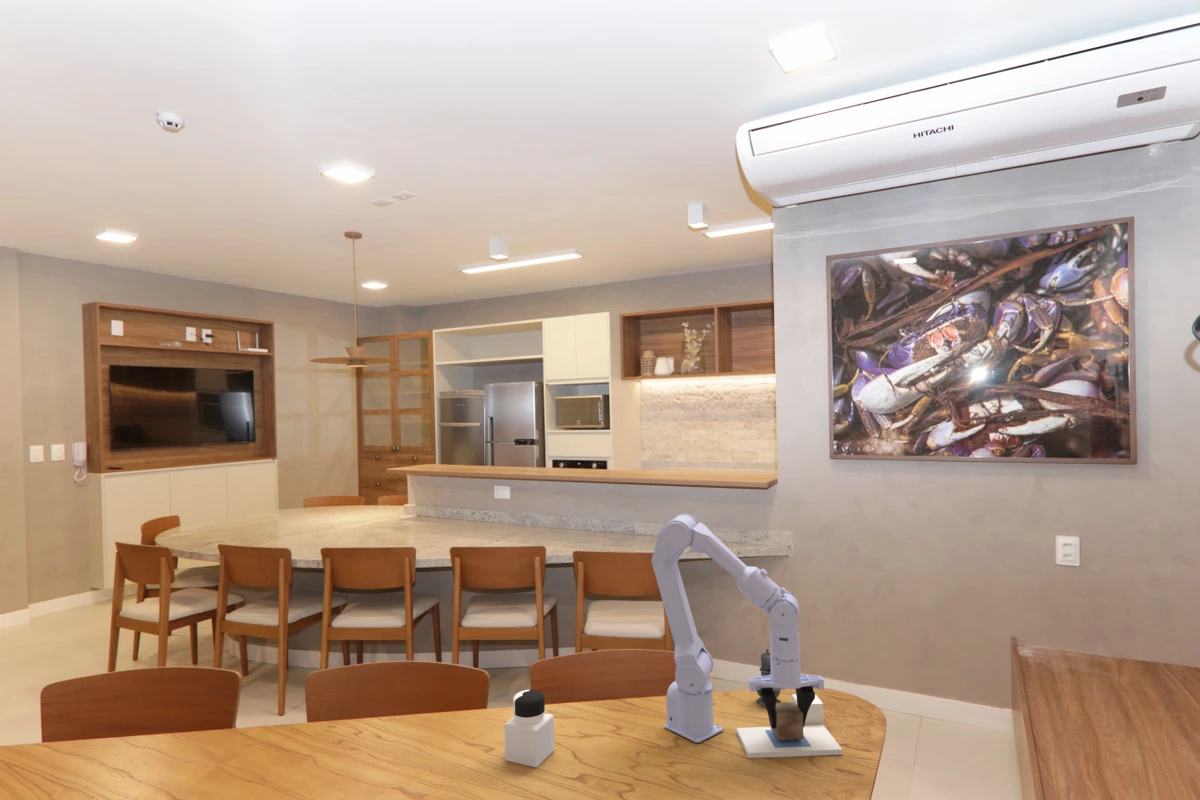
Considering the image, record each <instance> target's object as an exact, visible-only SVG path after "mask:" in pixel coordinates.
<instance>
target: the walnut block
mask: <svg viewBox="0 0 1200 800" xmlns="http://www.w3.org/2000/svg"><path fill="white" fill-rule="evenodd" d="M770 727H771V726H770ZM771 729H772V731H773V733H774V734H775V736H776V738H777V739H778V740H791V739H803V713H802V711H801V710H800V709H799V707H798V706H797V705H796V703H795V702H792V701H791V702H789V701H788V702H787V701H786V702H783V701H782V702H781V703H776V728H772V727H771Z"/></svg>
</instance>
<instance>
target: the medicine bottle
mask: <svg viewBox="0 0 1200 800" xmlns="http://www.w3.org/2000/svg"><path fill="white" fill-rule="evenodd" d="M512 700H513V703H512V706H513V708H512V709H513V710H512V711H513V712H512V713H513V716H512V717H511V719H509V720H508V721H506V723H504V760H505V761H506V762H510V763H514V764H519V765H523V766H526V767H527V766H528V767H532V768H535V769H536V768H538V767H539V766H540V765H541V764H542V763H543V762H544V761H545V760H546V759H547V758H548V757H550V755H551V754H552V753H553V752H554V751H555V719H554V718H555V717H554V714H551V713H547V712H546V709H545V705H546V704H545V703H546V702H545V695H544V694H543V692H542V691H540V690H536V689H525V690H524V689H523V690H521V691H519V692H517V693H516V694H515V695H514V696H513V697H512ZM545 712H546V713H545Z"/></svg>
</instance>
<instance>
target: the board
mask: <svg viewBox="0 0 1200 800" xmlns="http://www.w3.org/2000/svg"><path fill="white" fill-rule="evenodd" d="M735 730H736V735H737V737H738V740H739V741H740V743H741V745H742V747H743V750H744V752H745V753H746V756H747V757H748V759H763V758H785V757H787V758H789V757H811V756H812V757H815V756H816V757H817V756H839V755H841V756H842V755H843V748H842V747H841V746H840V745H839V743H838V742H837V740H836V739H835V738H834V736H833V735H832V734H831V733H830V731H829V730H828V729H827V728H826V726H825V724H824V725H806V726H804V727H803V739H791V740H778V739H777V738H776V736H775V734H774V733H773V731H772V729H771V726H757V727H754V726H753V727H752V726H751V727H736V729H735Z"/></svg>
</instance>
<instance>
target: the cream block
mask: <svg viewBox="0 0 1200 800" xmlns="http://www.w3.org/2000/svg"><path fill="white" fill-rule="evenodd" d="M791 702H795V703H796V705H797V696H796V693H795V694H793V693H792V694H791ZM824 706H825V705H824V703H823V702H822V700H821V699H820V698H819V697H818V695H817V694H816V693H815V699H814V700H813V702H812V704H811V706H810V708H809V710H808V713H807V717H806V721H805V726H806V725H824V726H825V714H824V713H825V712H824V711H825V710H824Z"/></svg>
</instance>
